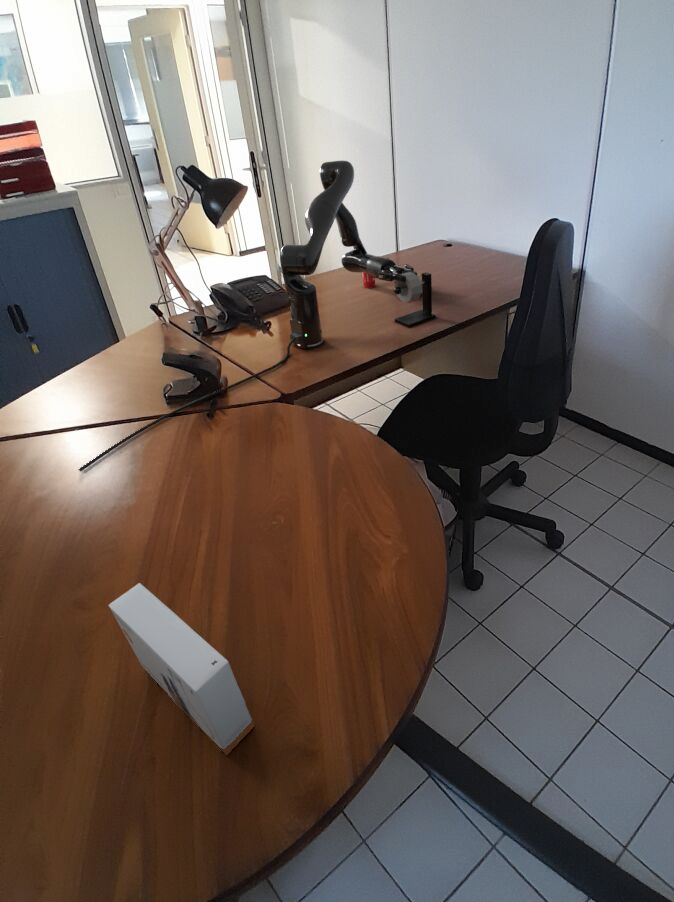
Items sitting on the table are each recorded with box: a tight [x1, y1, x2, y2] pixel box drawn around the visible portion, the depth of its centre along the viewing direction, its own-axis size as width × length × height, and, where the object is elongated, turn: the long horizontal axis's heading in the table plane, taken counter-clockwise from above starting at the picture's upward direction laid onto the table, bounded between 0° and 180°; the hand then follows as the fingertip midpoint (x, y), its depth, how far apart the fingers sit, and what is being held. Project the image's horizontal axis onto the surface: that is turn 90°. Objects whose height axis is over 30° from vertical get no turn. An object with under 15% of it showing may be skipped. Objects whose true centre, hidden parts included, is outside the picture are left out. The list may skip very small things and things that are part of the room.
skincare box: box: [108, 582, 253, 749], centre depth 75 cm, size 21×6×16 cm, turn 52°
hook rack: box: [393, 272, 437, 329], centre depth 197 cm, size 16×8×16 cm, turn 130°
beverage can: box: [361, 272, 376, 289], centre depth 234 cm, size 5×5×12 cm
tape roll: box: [393, 272, 422, 303], centre depth 193 cm, size 5×10×10 cm, turn 40°
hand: (410, 277), depth 190 cm, fingers closed on tape roll, 4 cm apart
